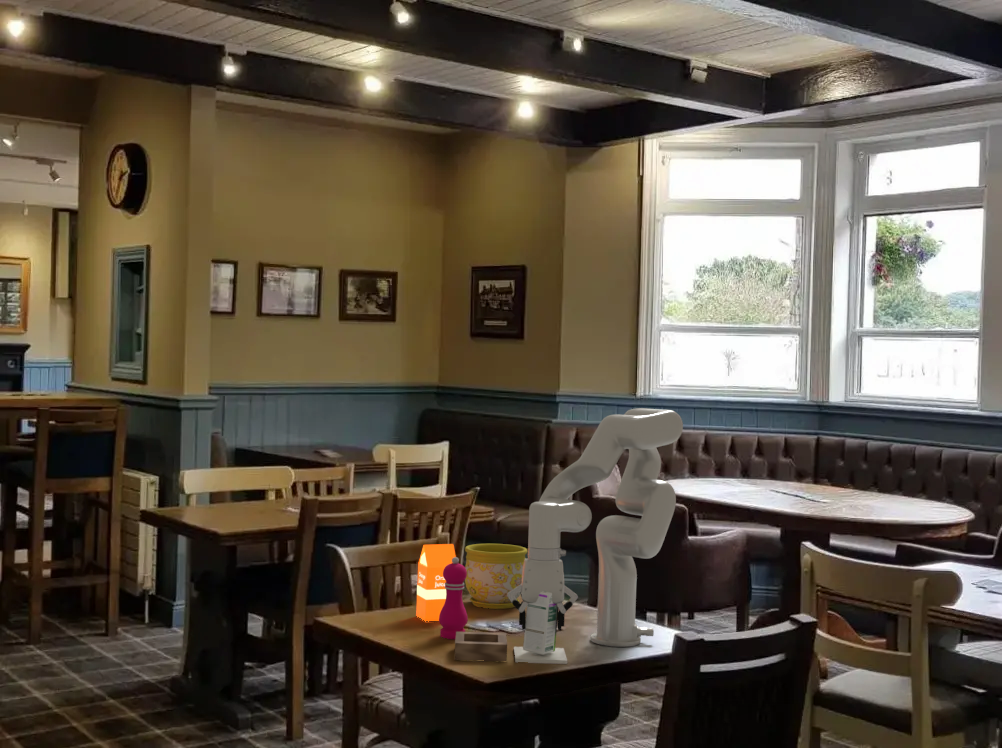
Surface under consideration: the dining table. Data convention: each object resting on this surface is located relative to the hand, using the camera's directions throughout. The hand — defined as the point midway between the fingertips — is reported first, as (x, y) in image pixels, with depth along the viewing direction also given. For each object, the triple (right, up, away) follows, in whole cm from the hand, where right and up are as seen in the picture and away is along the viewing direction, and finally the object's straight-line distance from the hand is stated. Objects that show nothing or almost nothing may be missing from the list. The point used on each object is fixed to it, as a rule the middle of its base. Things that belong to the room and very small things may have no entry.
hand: (541, 628), depth 265 cm
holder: (-14, -6, 0) cm, 16 cm away
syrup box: (-1, -5, 0) cm, 6 cm away
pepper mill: (-22, -6, +17) cm, 29 cm away
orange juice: (-27, -6, +38) cm, 47 cm away
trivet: (0, -7, 0) cm, 7 cm away
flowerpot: (-12, -7, +60) cm, 61 cm away
